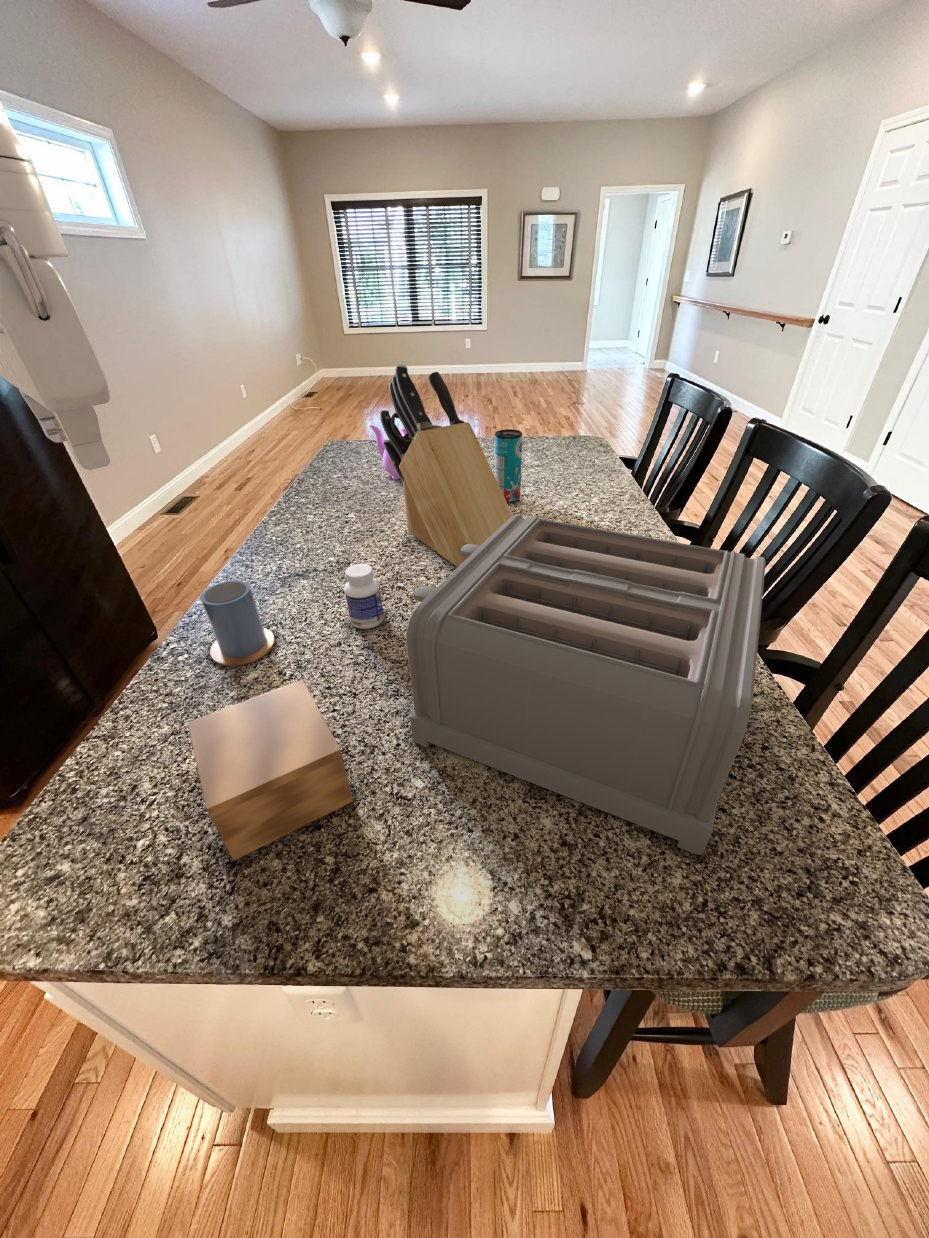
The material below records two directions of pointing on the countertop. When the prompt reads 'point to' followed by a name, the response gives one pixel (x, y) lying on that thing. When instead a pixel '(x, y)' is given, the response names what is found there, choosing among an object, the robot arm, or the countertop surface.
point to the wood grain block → (268, 767)
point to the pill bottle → (363, 597)
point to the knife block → (441, 472)
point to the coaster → (229, 661)
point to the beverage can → (508, 463)
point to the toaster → (593, 667)
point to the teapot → (382, 451)
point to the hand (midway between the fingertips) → (78, 452)
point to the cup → (234, 618)
